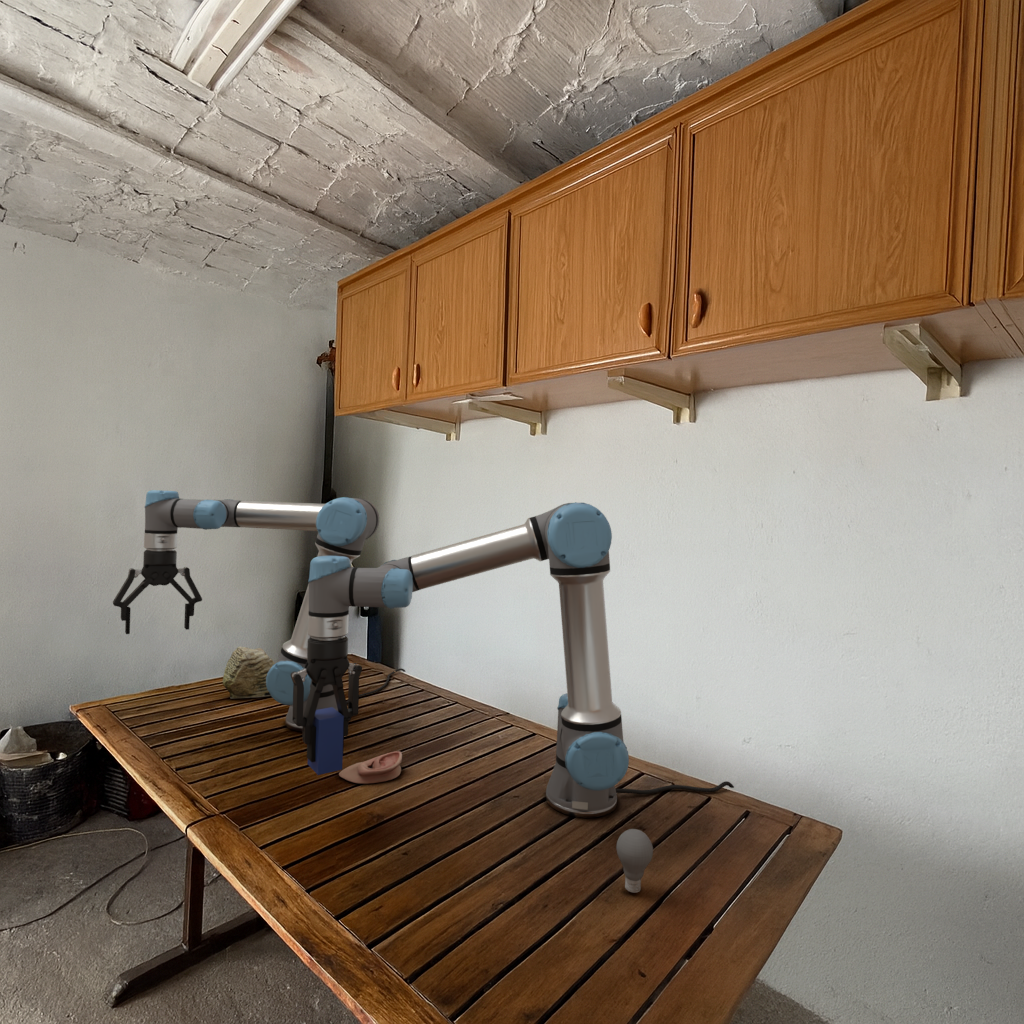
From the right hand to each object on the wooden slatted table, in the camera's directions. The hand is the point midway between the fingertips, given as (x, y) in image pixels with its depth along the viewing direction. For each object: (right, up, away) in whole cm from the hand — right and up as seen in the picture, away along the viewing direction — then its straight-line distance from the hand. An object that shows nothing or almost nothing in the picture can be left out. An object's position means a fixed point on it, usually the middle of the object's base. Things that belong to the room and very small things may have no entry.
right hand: (325, 755), depth 123 cm
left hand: (-56, +16, +43) cm, 72 cm away
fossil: (-44, -10, +76) cm, 88 cm away
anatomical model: (+4, -13, +23) cm, 27 cm away
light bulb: (+56, -16, -17) cm, 61 cm away
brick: (0, -2, 0) cm, 2 cm away
